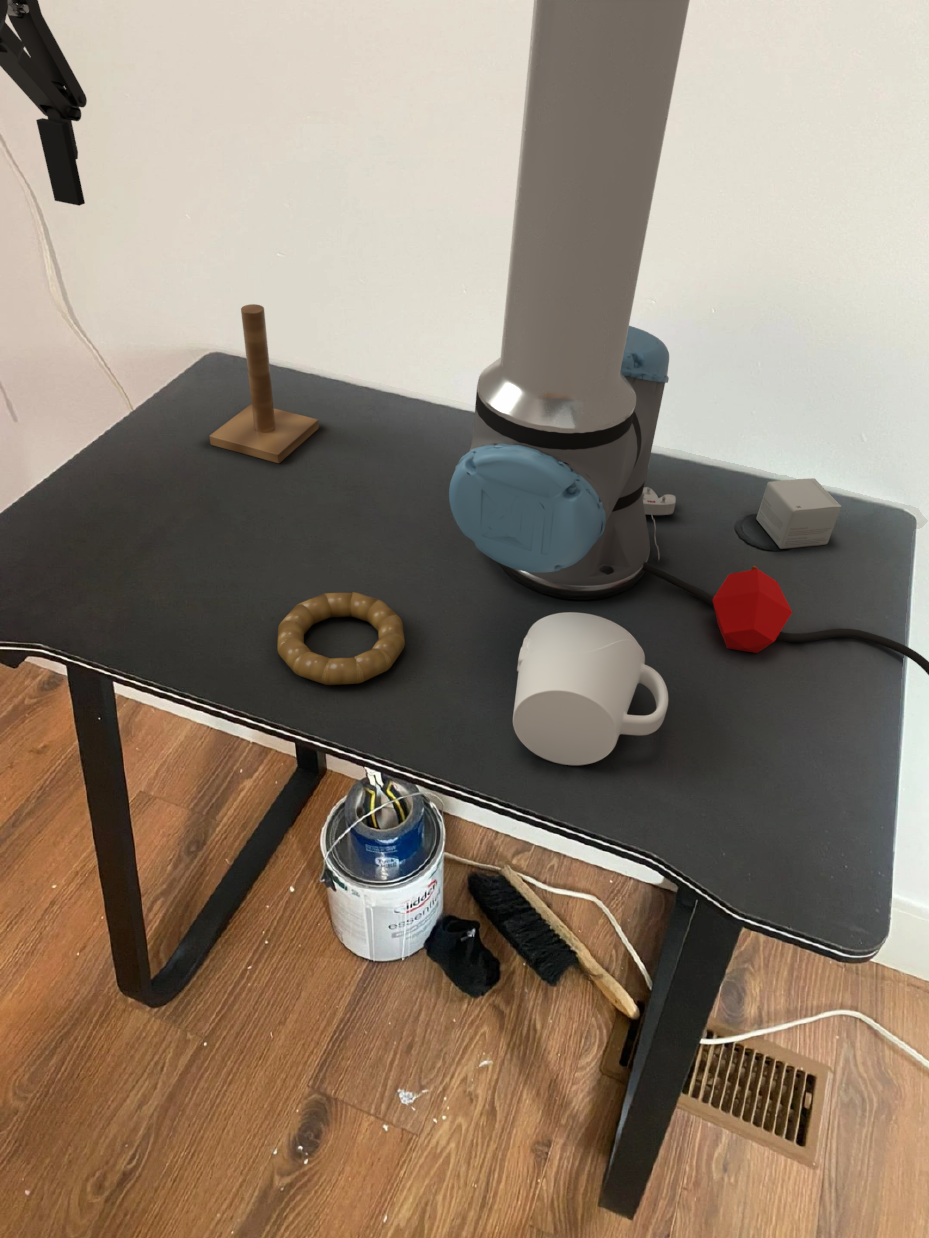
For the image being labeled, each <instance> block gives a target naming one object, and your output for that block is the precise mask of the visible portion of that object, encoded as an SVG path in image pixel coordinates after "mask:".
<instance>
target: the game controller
mask: <svg viewBox="0 0 929 1238" xmlns="http://www.w3.org/2000/svg"><path fill="white" fill-rule="evenodd" d="M642 498H643V504H644V510H645V515H651V519H652V520H653V524H654V525H653V526H654V532H653V533H654V534H653V537H654V543H655V547H656V549H657V557H658V558H657V562H660V558H661V557H660V548H659V545H657V538H656V535H657V534H656V533H657V527H656V520H655V518H654V517H653V516H665V515H666V516H668V515H673V513H674V512H675V507H676V501H677V500H676V499H677V498H676V495H673V494H669V493H667V494H664V495H662V496H660V497H658V495H657V494H656V492H655V491H654V490H653V489H652V488H650V487H649V486H644V488H643V494H642Z"/></svg>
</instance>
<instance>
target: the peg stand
mask: <svg viewBox="0 0 929 1238" xmlns="http://www.w3.org/2000/svg"><path fill="white" fill-rule="evenodd" d="M240 314H241V321H242V333H243V338H244V340H243V341H244V349H245V358H246V367H247V376H248V383H249V394H250V395H249V396H250V404H248V406H246V407H245V408H244V409H242V410H241V411H239V412H238V413H237V414H236V415H235V416H233V417H232V418H231V419H229V420H228V421H227V422H225V423H224V424H223V425H221V426H220V427H219V428H217V429H216V430H215V431H214V432H213V433H211V434H210V435H209V442H210V445H211V446H214V447H217V448H221V449H224V450H229V451H232V452H235V453H240V454H243V455H247V456H249V457H254V458H257V459H261V460H265V461H268V462H272V463H275V464H280V463H281V462H283V461H284V460H285V459H286V458H287V457H288V456H289V455H291V454H292V453H293V452H294V451H296V449H297V448H298V447H299V446H301V445H302V444H303V443H304V442H305V441H306V440H308V438H310V437H311V436H312V435H313V434H314V433H315V432H317V431H318V430H319V428H320V426H319V425H320V424H319V419H318V418H314V417H310V416H307V415H302V414H298V413H294V412H290V411H287V410H283V409H279V408H275V407H274V397H273V388H272V387H273V386H272V375H271V365H270V357H269V355H270V353H269V346H268V345H269V344H268V335H267V322H266V313H265V308H264V306H262V305H260V304H257V303H256V304H254V303H251V304H246V305H243V306H241V308H240Z"/></svg>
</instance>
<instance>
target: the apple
mask: <svg viewBox="0 0 929 1238" xmlns="http://www.w3.org/2000/svg"><path fill="white" fill-rule="evenodd" d="M713 597H714V598H713V599H712V600H713V605H714V606H713V609H714V614H715V618H716V623H717V626H718V628H719V630H720V634H721V636H722V639H723V641H724V643H725V646H726V649H729V650H736V651H740V652H741V651H742V652H747V653H753V654H758V653H760V652H761V651H763V650H764V649H766V648H767V647H769V646H771V644H773V643H775V642H776V640H777V639H776V638H777V636H778V635H779V633H780V632H782V630H783V628H784V627H785V625H786V624H787V622H788V620H789V619H790V617H791V615H792V614H793V611H792V609H791V606H790V604H789V602H788V601H787V599H786V597H785V594H784V593H783V590H782V588H781V586H780V584H779V582H778V581H777V580H776V579H774V578H772V577H771V576H769V575H768V574H766V573H764V572H763V571H762V570H761V569H759V568H758V565H752V566H751V568H750V569H749V570H743V571H738V572H733V573H728V574H727V576H726V578H725V579H724V581H723V582H722V584H721V585H720V587H719V589H718V590H717V592H716V593H715V595H714V596H713Z"/></svg>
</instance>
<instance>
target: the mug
mask: <svg viewBox="0 0 929 1238" xmlns="http://www.w3.org/2000/svg"><path fill="white" fill-rule="evenodd" d="M645 663H646V656H645V652H644V649H643V648H642V646H641V645H640V644H639V642H638V641H637V639H636V638H635V637H634V636H633V635H632V634H631V633H630V632H629V631H628V630H627V629H626V628H624V627H623V626H621V625H619V624H618V623H616V622H614V621H612V620H610V619H607V618H604V617H603V616H600V615H595V614H591V613H587V612H586V613H585V612H576V611H572V612H571V611H569V612H568V611H567V612H557V613H552V614H550V615H547V616H544V617H542V618H540V619H538V620H536V622H533V624H532V625H531V626H530V628H529V629H528V631H527V633H526V635H525V637H524V638H523V642H522V645H521V647H520V650H519V654H518V660H517V667H516V672H517V680H516V689H515V690H516V691H515V698H514V706H513V715H512V726H513V727H512V728H513V730H514V733H515V735H516V737H517V738H518V739H519V741H520V742H521V744H522V745H524V747H526V748H527V749H528V750H529V751H530V752H532V753H533V754H534V755H536V756H538V757H540V758H542V759H544V760H546V761H549V762H552V763H556V764H559V765H565V766H567V765H568V766H584V765H585V766H586V765H589V764H593V763H597V762H599V761H601V760H603V759H604V758H606V757H607V756H609V754H611V753H612V752H613V750H614V749H615V747H616V745H617V742H618V740H619V737H620V735H627V736H648V735H650V734H653V733H655V732H656V731H658V730H659V729H660V728H661V726H662V725H663V723H664V721H665V718H666V713H667V710H668V707H669V692H668V688H667V685H666V682H665V680H664V678H663V677H662V676H661V674H660V673H659V672H658V671H657V670H656V669H654V668H653V667H651V666H649V665H647V664H645ZM638 684H639V685H643V686H644V687H645V688H647V689H648V690H649V691H650V693H651V694H652V696H653V698H654V702H655V710H654V711H653V712H652V713H649V714H646V715H638V714H637V715H636V714H628V711H629V709H630V706H631V703H632V700H633V699H634V698H633V697H634V695H635V692H636V689H637V686H638Z"/></svg>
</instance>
